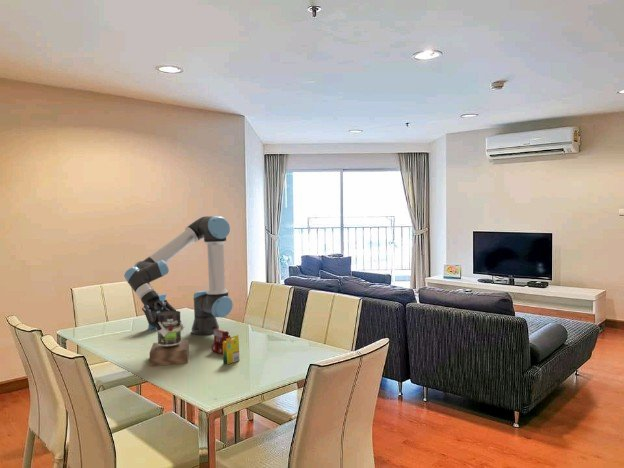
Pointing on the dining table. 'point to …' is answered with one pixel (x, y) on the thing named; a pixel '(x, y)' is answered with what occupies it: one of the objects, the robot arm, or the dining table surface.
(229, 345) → the crayon box
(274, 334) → the dining table surface
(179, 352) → the walnut block
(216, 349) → the toy fire truck
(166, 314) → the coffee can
